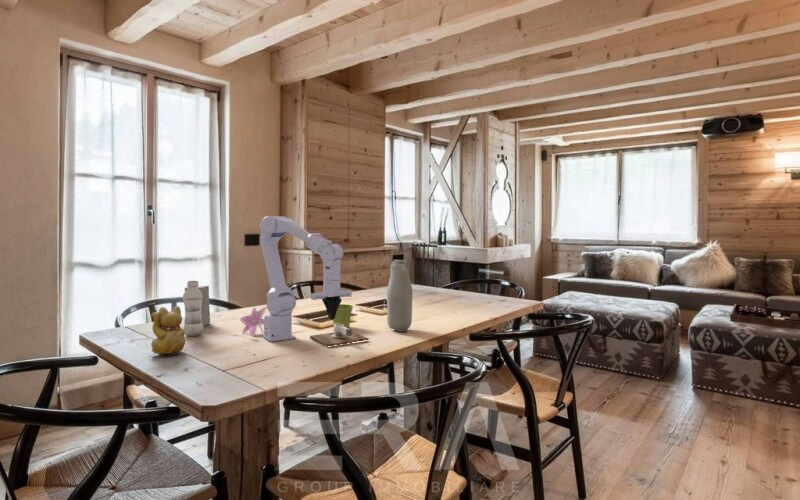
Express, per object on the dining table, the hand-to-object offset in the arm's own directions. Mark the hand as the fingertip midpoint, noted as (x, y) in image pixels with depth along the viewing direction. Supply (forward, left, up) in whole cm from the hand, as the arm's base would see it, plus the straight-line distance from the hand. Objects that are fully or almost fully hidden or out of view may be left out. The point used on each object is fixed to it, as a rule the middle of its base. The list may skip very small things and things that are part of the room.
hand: (331, 318), depth 159 cm
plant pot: (+15, +21, -9) cm, 27 cm away
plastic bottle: (-37, +37, -9) cm, 53 cm away
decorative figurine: (-48, +16, -9) cm, 51 cm away
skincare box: (-32, +54, -9) cm, 64 cm away
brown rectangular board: (+5, +4, -9) cm, 11 cm away
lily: (-17, +30, -9) cm, 36 cm away
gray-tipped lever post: (+5, +1, -6) cm, 8 cm away
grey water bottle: (+32, +5, -9) cm, 34 cm away
